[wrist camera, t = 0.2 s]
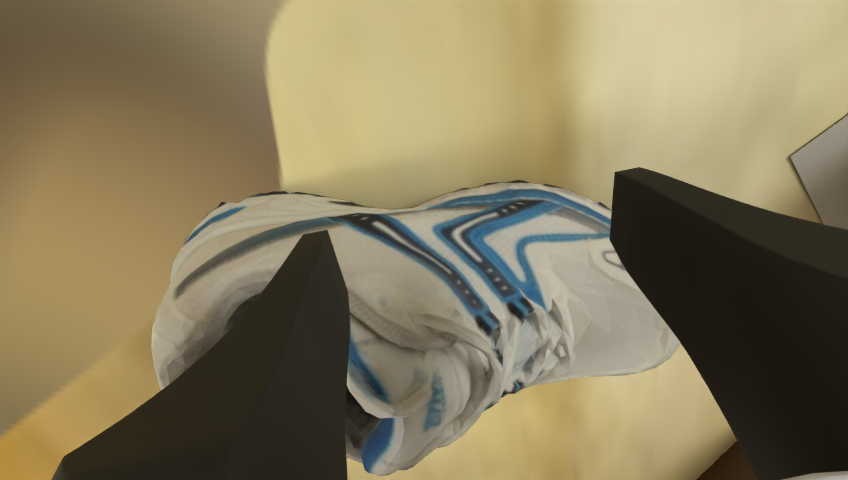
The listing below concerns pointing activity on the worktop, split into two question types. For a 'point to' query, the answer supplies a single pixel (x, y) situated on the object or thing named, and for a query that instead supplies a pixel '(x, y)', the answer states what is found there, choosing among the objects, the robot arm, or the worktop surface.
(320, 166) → the worktop surface
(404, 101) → the worktop surface
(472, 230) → the athletic shoe
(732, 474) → the brown block holder
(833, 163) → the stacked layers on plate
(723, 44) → the worktop surface
